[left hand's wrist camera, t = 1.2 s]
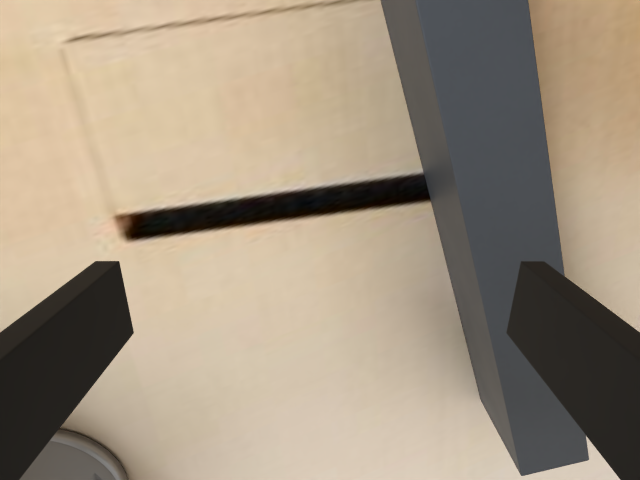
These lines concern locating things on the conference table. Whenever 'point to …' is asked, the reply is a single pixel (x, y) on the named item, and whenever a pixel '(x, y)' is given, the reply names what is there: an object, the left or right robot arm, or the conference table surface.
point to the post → (488, 196)
